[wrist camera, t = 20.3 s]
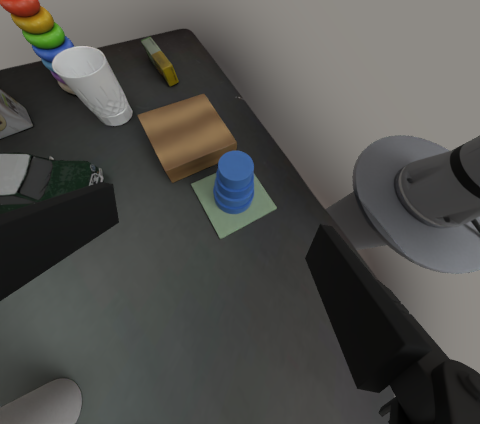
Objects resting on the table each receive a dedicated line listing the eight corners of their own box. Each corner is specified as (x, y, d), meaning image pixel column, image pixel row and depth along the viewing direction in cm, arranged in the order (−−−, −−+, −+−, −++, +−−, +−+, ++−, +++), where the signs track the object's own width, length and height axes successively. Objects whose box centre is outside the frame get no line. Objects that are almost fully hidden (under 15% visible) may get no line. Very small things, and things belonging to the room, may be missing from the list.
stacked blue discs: (259, 203, 32) (272, 175, 23) (225, 221, 30) (225, 198, 21) (240, 173, 34) (245, 136, 24) (207, 189, 32) (199, 155, 23)
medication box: (148, 59, 44) (139, 39, 40) (158, 55, 44) (150, 35, 40) (169, 87, 40) (161, 69, 37) (179, 82, 41) (173, 63, 37)
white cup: (90, 125, 36) (41, 72, 26) (106, 98, 38) (66, 42, 29) (128, 131, 36) (92, 81, 26) (141, 104, 38) (112, 50, 29)
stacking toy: (57, 94, 38) (-93, -62, 20) (71, 70, 40) (-51, -86, 23) (94, 98, 38) (-21, -51, 20) (105, 74, 41) (13, -77, 23)
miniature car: (104, 217, 29) (61, 198, 22) (-14, 223, 28) (-104, 205, 20) (112, 172, 32) (77, 142, 25) (6, 175, 31) (-66, 144, 23)
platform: (235, 155, 36) (237, 142, 32) (172, 183, 33) (165, 171, 29) (206, 110, 39) (204, 93, 35) (146, 131, 36) (136, 114, 32)
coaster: (276, 208, 32) (277, 208, 32) (220, 239, 30) (220, 238, 29) (244, 161, 35) (245, 160, 35) (191, 184, 33) (190, 183, 32)
